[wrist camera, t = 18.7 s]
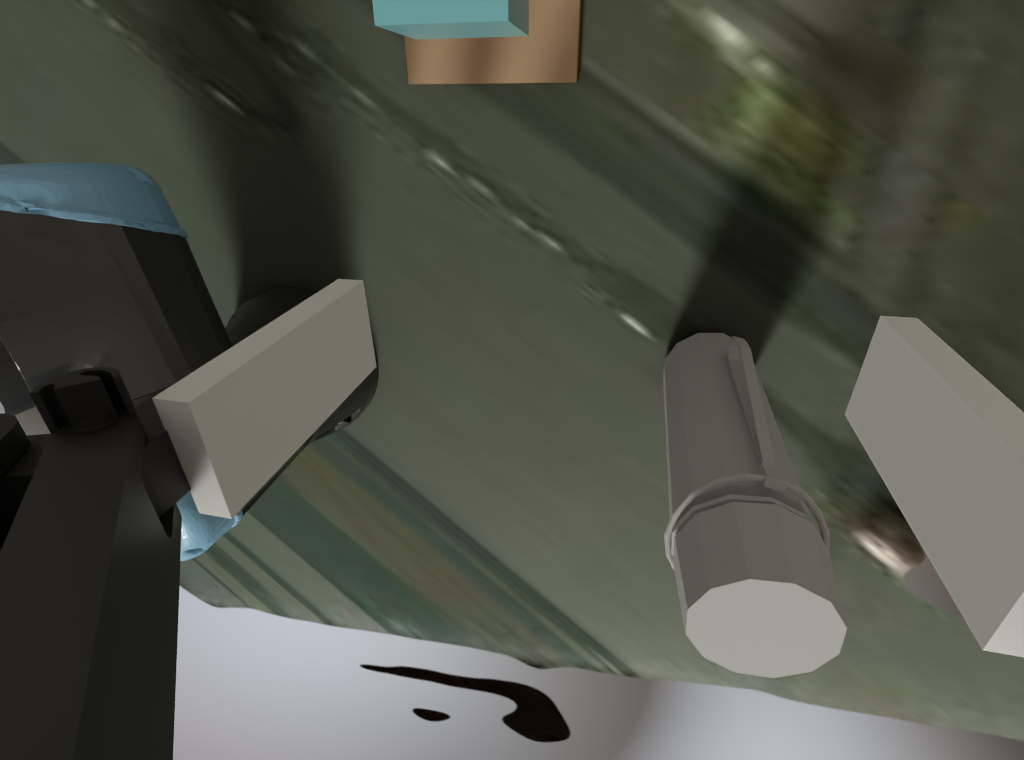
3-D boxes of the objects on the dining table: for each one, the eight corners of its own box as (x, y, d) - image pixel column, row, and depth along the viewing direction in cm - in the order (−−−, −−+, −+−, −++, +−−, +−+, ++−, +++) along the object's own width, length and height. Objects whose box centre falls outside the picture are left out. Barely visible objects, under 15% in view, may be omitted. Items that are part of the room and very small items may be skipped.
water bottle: (737, 413, 46) (813, 703, 24) (647, 391, 46) (646, 652, 25) (781, 318, 41) (925, 575, 20) (680, 295, 42) (713, 517, 20)
